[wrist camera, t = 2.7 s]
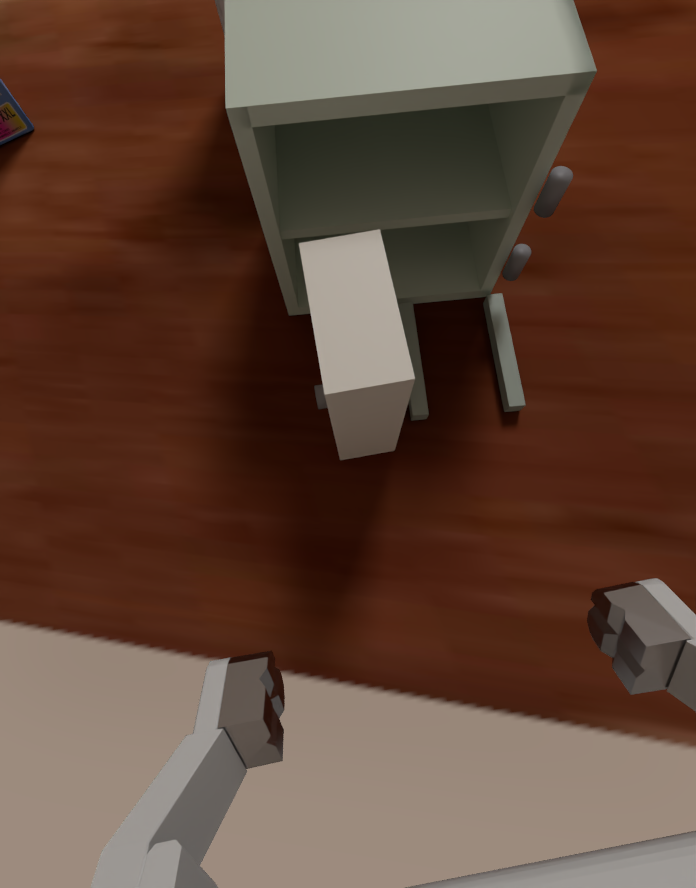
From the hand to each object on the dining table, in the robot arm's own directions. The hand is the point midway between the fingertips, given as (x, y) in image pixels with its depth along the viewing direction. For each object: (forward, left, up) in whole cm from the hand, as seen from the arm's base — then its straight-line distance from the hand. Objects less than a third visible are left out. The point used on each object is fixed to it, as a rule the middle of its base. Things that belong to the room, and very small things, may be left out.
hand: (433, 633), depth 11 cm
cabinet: (-15, -13, -14) cm, 24 cm away
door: (-7, -9, -14) cm, 18 cm away
